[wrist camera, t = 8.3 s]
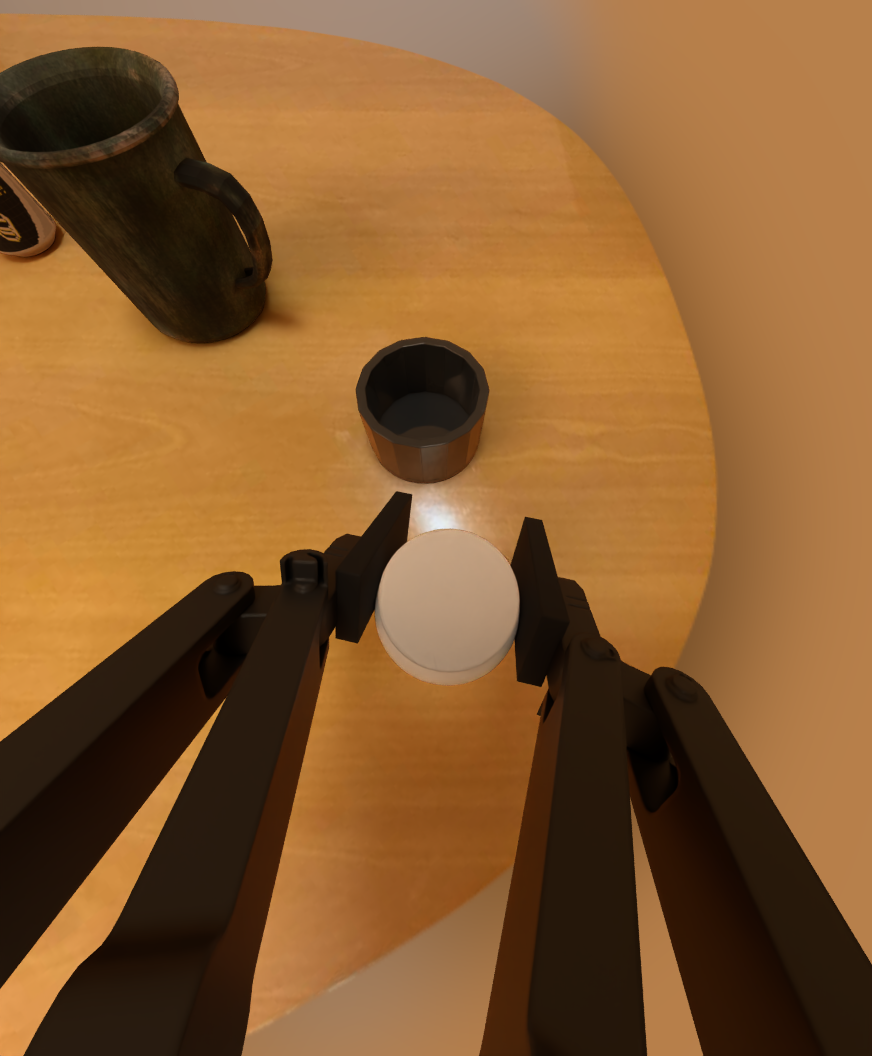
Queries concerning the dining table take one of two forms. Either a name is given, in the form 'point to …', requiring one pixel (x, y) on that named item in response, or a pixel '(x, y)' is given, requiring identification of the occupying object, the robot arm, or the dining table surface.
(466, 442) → the dark grey round container
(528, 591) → the robot arm
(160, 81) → the mug
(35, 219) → the beverage can
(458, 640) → the pill bottle
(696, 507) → the dining table surface
